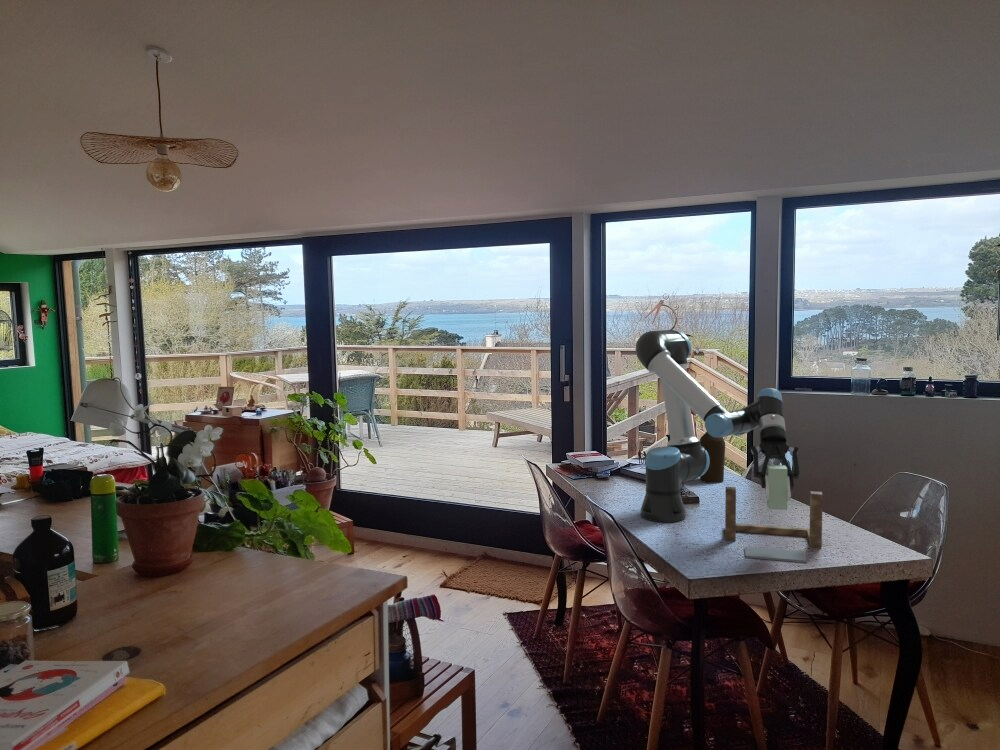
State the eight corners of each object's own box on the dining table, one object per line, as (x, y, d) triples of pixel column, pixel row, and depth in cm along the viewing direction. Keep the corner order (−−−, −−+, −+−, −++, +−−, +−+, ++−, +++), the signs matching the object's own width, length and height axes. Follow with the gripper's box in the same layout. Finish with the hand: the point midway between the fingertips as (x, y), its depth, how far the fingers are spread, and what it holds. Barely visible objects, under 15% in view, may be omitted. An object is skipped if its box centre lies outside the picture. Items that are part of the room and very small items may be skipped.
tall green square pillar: (768, 508, 200) (768, 468, 199) (767, 504, 205) (767, 464, 204) (787, 509, 199) (787, 468, 198) (785, 505, 203) (785, 465, 203)
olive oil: (728, 479, 288) (729, 420, 286) (719, 484, 280) (719, 424, 278) (704, 476, 295) (704, 418, 293) (694, 481, 287) (694, 422, 285)
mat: (745, 557, 195) (745, 555, 195) (744, 548, 203) (744, 546, 203) (806, 562, 190) (806, 560, 190) (803, 553, 198) (803, 551, 198)
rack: (725, 540, 211) (725, 489, 209) (725, 528, 222) (725, 480, 221) (821, 547, 202) (822, 494, 201) (816, 535, 214) (817, 484, 212)
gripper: (742, 424, 212) (745, 489, 198) (805, 425, 207) (814, 492, 193) (741, 438, 218) (744, 502, 203) (802, 439, 213) (810, 505, 198)
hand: (778, 497), depth 198 cm, fingers closed on tall green square pillar, 5 cm apart
